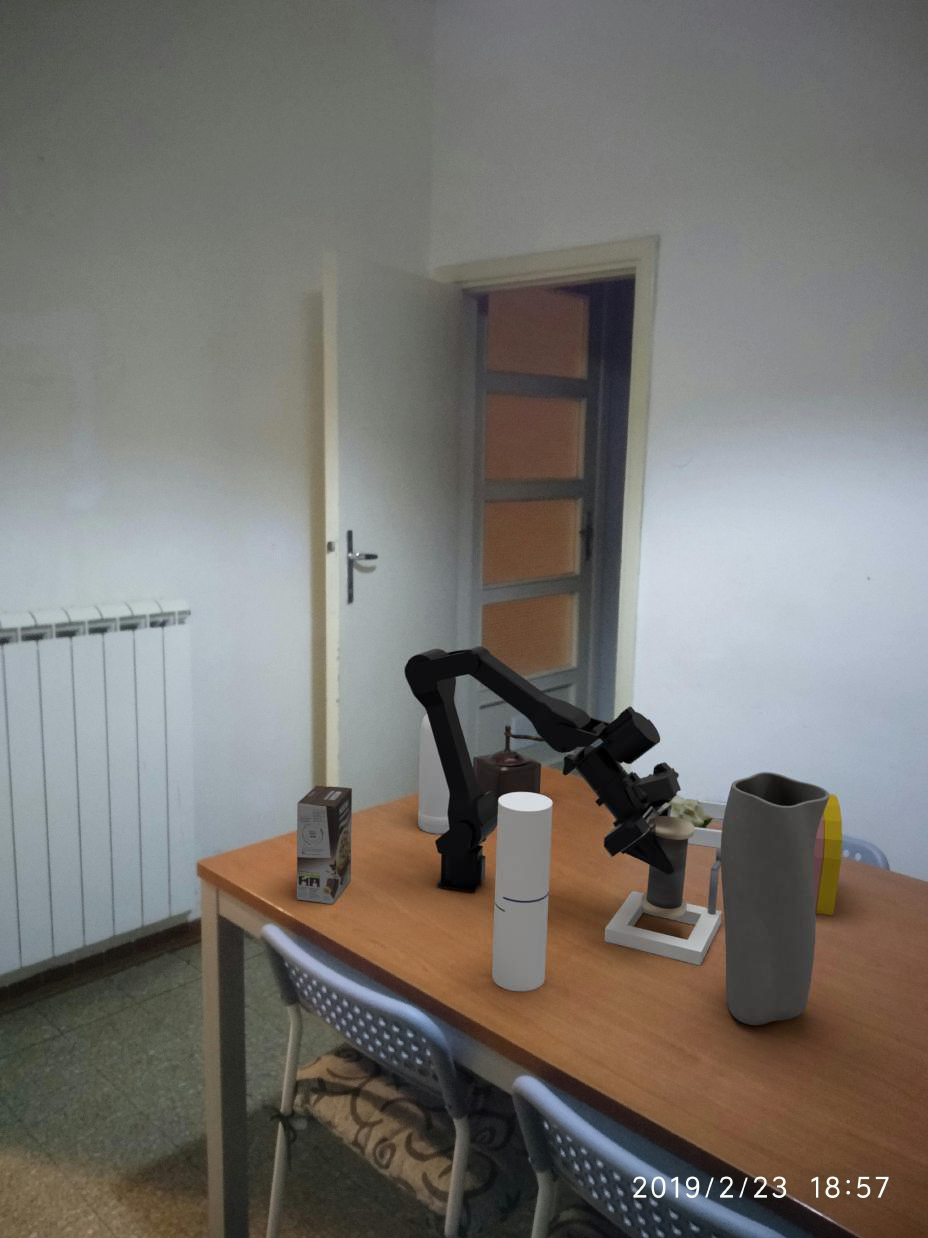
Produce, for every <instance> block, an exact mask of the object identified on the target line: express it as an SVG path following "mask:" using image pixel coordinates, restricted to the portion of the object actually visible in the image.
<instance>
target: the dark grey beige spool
mask: <svg viewBox="0 0 928 1238" xmlns="http://www.w3.org/2000/svg"><path fill="white" fill-rule="evenodd" d="M654 825H656V835H655V838H656V840H657V842H658V843H659V845H660V847H661V848H662V850H663V851H664V853H665V855H666V856H667V858H668V859H669V861H670V863H671V864H672V866H673V868H674V872H673V873H672V874H670V875H668V874H666V873H664V872H662V871H660V870H658V869H657V868H655V867H653V866H651V865H649V868H648V879H647V888H646V889H647V890H646V892H644V894H643V896H642V901H641V906H642V908H643V909H644V910H645V911H647V912H649V913H651V914H653V915H652V916H654V915H656V916H655V917H658V916H660V918H663V917H667V918H674V917H680V916H682V915H684V914H685V913H686V907H687V904H688V902H687V901H686V900H685V898H684V897H683V896H684V887H685V877H686V867H687V866H686V865H687V856H688V838H691V837H692V836H693V835H694V825H693V824H692V823H690V822H689V821H686V820H684V819H681V818H677V817H670V816H658V817H653V818H651V819H650V820H649V823H648V827H649V828H651V827H652V826H654ZM667 918H666V919H667Z"/></svg>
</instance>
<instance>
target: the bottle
mask: <svg viewBox="0 0 928 1238" xmlns="http://www.w3.org/2000/svg"><path fill="white" fill-rule="evenodd" d="M459 721H460V724H461V725H462V723H461V720H460V719H459ZM461 728H462V729H463V727H462V726H461ZM419 732H420V733H419V772H418V773H419V774H418V775H419V776H418V809H417V810H418V811H417V819H418V820H417V821H418V824H417V825H418V828H419V829H421V830H422V831H423V832H426V833H429V834H435V835H436V834H437V835H440V834H441V835H443V834H444V833H445V832H447V831H448V830H449V823H448V815H447V812H448V803H449V789H448V786H447V782H446V779H445V775H444V772H443V768H442V765H441V761H440V757H439V754H438V750H437V747H436V743H435V740H434V736H433V733H432V729H431V726H430V722H429V719H428V715H427V713H426V714H425V715H424V716H423V719H422V722H421V725H420V729H419Z"/></svg>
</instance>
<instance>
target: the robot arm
mask: <svg viewBox="0 0 928 1238" xmlns="http://www.w3.org/2000/svg"><path fill="white" fill-rule="evenodd" d="M467 675H469V676H471V677H472V678H473V679H475V680H476V681H477V682H479V683H480V684H482V685H483V686H485V688H487V689H488V690H490V691H491V692H492V693H493V694H495V695H496V696H497V697H499V698H500V699H502V700H503V701H504V702H506V703H507V704H508V705H509V706H511V707H512V708H514V709H515V710H516V711H518V712H519V713H521V714H522V715H523V716H524V717H526V719H527V720H528V721H529V722H530V723H531V725H532V726H533V728H534V729H535V732H536V733H537V735H538V736H539V737H540V738H542V739H543V740H544V742H545V743H546V744H547V745H548V746H549V748H551V749H552V750H553V751H555V752H557V753H560V754H564V753H568V754H566V755H565V756H564V757H563V768H562V774H563V775H564V776H568V775H569V774H570V773H571V772H572V771H574V770H575V769H576V771H577V772H578V773H579V775H580V776H581V777H582V779H583V780H584V782H585V783H587V785H588V787H590V788H591V790H592V791H593V792H594V794H595V795H596V796H597V797H598V798H597V799H596V800H595V804H597V806H598V808H599V807H601V806H602V805H604V806H605V808H606V809H607V810H608V811H609V813H610V814H611V816H613V818H614V819H615V820H614V821H613V822H612V825H613V826H614V828H613V829H611V830H610V831H609V832H608V834H606V836H605V837H604V838H603V839H604V840H603V848H604V849H605V851H607V853H608V854H609V855H610V857H612V858H614V856H616V855H618V854H619V853H621V854H622V855H624V854H626V855H628V856H631V857H632V858H635V859H637V860H639V861H642V862H644V863H645V864H647V865H649V866H650V865H651V866H653V867H655V868H657V869H658V870H660V871H662V872H664V873H666V874H668V875H670V874H672V873H673V872H674V868H673V866H672V864H671V863H670V861H669V859H668V858H667V856H666V855H665V853H664V851H663V850H662V848H661V847H660V845H659V843H658V842H657V840H656V838H655V835H656V825H654V826H652V827H651V828H649V827H648V823H649V820H650V819H651V818H653V817H658V816H670V813H671V809H672V805H669V806H668V807H667V808H665V809H664V808H663V807H662V805H664V804H665V803H669V802H670V801H671V800H672V799H673V798H674V797H675V796H676V795H678V792H681V791H682V789H681V786H680V783H679V780H678V778H679V777H680V776H679V775H680V774H679V773H678V772H677V771H676V770H675V768H674V767H671V766H670V765H669V764H668V763H667V762H666V761H665V762H660V763H656V765H655V766H653V770H652V773H650V774H648V775H647V776H644V777H640V776H639V775H638V774H637V773H636V772H633V771H630V772H629V773H628V772H627V770H625V768H624V767H623V766H622V764H623V763H624V764H626V765H632V764H633V763H634V762H637V760H638V759H640V758H641V757H642V756H644V755H645V754H646V753H647V752H649V751H650V750H651V749H653V748H654V747H655V746H657V745H658V744H659V743H660V742H661V735H660V733H659V731H658V729H657V726H655V725H654V723H653V722H652V720H651V719H649V718H646V717H645V716H644V715H643V714H642V713H640V712H637V711H636V710H635V709H634V707H632V706H628V707H627V708H625V709H624V710H623V711H621V712H620V713H619V715H618V716H617V717H616V718H615V719H614V720H612V721H611V722H609V721H604V720H601V719H599V718H594V717H591V716H590V715H589V714H588V713H587V711H585V710H583V709H581V708H579V707H578V706H575V705H573V704H571V703H570V702H569V701H568V702H567V701H566V700H562V699H559V698H555V697H552V696H550V695H548V694H546V693H545V692H543V691H542V690H540V689H539V688H537V687H536V686H535V685H534V684H532V683H531V682H530V681H528V680H527V679H525V678H524V677H523V676H521V675H520V674H519V673H517V672H516V671H514V670H513V669H512V668H511V667H510V666H508V665H506V664H505V663H504V662H502V661H501V660H500V659H498V657H497V658H496V656H494V655H493V654H492V653H491V652H490V651H489V650H488V649H487V648H485V647H484V646H479V645H477V646H474V647H472V648H471V647H470V648H466V649H458V650H453V651H448V652H446V650H443V649H440V648H432V649H428V650H426V651H424V652H420V653H418V654H415V655H413V656H411V657H410V658H409V659H408V660H407V662H406V664H405V666H404V677H405V679H406V681H407V684H408V686H409V688H410V690H411V692H412V695H413V697H414V698H415V699H416V700H417V701H418V702H419V703H420V704H421V706H422V707H423V708H424V709H425V711H426V714H427V715H428V719H429V722H430V726H431V729H432V733H433V736H434V740H435V743H436V747H437V750H438V754H439V757H440V761H441V765H442V768H443V772H444V775H445V779H446V782H447V786H448V789H449V803H448V812H447V815H448V823H449V830H448V831H447V832H445V833H444V834H441V836H439V837H437V838H436V839H435V840H434V843H435V847H436V849H437V853H438V854H440V855H441V856H440V879H439V880H438V882H437V883H436V885H437V888H441V889H443V888H444V889H446V890H453V891H454V890H456V891H461V892H466V893H467V892H468V893H475V892H476V891H477V890H478V889H479V887H480V886H481V885H482V884H483V883H484V881H485V878H486V860H487V859H486V855H485V854H484V855H483V852H484V851H483V849H484V848H483V847H484V846H483V845H481V844H483V843H484V842H486V841H487V838H488V836H490V835H491V834H492V833H493V832H494V831H495V829H496V828H497V822H498V809H497V806H496V804H495V797H494V793H493V791H490V792H487V793H485V792H484V791H483V790H482V788H481V787H480V786H479V785H478V783H477V780H476V777H475V773H474V770H473V762H472V760H471V756H470V753H469V750H468V745H467V742H466V738H465V735H464V731H463V727H462V723H461V720H460V717H459V714H458V711H457V706H456V703H455V695H456V694H455V693H456V684H457V679H456V678H457V677H461V676H467ZM459 720H460V721H459ZM460 723H461V724H460ZM461 727H462V728H461ZM598 740H601V742H600V744H599V745H598V746H596V747H595V746H593V744H594V743H595V742H597V741H598ZM577 748H582V749H580V750H579V751H578V752H577V753H575V754H572V753H571V752H573V751H575V750H576V749H577Z"/></svg>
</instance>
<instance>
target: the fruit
mask: <svg viewBox="0 0 928 1238" xmlns="http://www.w3.org/2000/svg"><path fill="white" fill-rule="evenodd" d="M698 800H699V799H693V798H684V797H683V796H681V795H679V794H677V795H676V796H675V797H674V798H673V799H672V800H671V801H670V802H669V803H665V804H664V805H662V807H663V808H664V809H665V808H667V807H668V806H669V805H672V809H671V813H670V817H677V818H681V819H684V820H686V821H689V822H690V823H692V824H693V825H694V827H698V828H706V829H707V827H708V826H709V825H710V823H712V821H713V818H712V817H710V816H709V815H708V814H706V813H705V812H704V811H703V809H702V807H701V805H700V802H699V801H698Z"/></svg>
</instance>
